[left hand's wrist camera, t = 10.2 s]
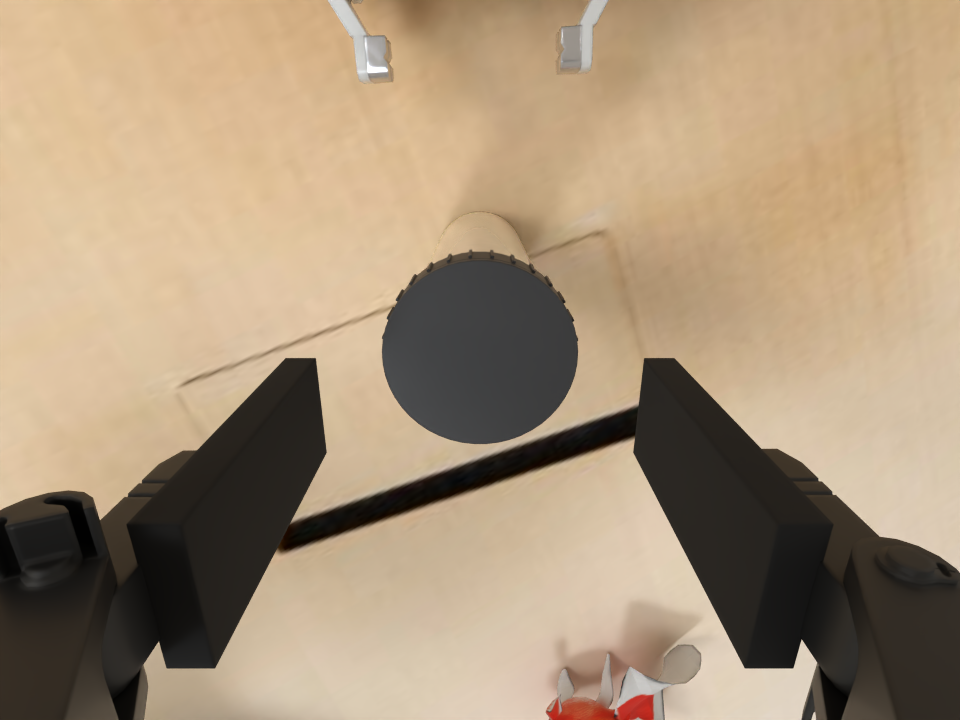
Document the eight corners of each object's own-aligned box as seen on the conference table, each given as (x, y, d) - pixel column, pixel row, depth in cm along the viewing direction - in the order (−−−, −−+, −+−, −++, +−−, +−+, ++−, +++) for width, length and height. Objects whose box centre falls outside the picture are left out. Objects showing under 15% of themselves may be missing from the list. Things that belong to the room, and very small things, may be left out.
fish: (499, 677, 42) (577, 820, 35) (652, 574, 47) (749, 681, 40) (511, 724, 49) (579, 852, 42) (644, 629, 54) (726, 729, 47)
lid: (583, 255, 18) (594, 265, 16) (560, 428, 20) (567, 451, 19) (388, 242, 18) (379, 250, 16) (387, 418, 20) (379, 440, 18)
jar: (526, 214, 34) (574, 276, 17) (518, 299, 36) (554, 432, 19) (439, 208, 34) (396, 264, 17) (436, 293, 36) (394, 423, 19)
